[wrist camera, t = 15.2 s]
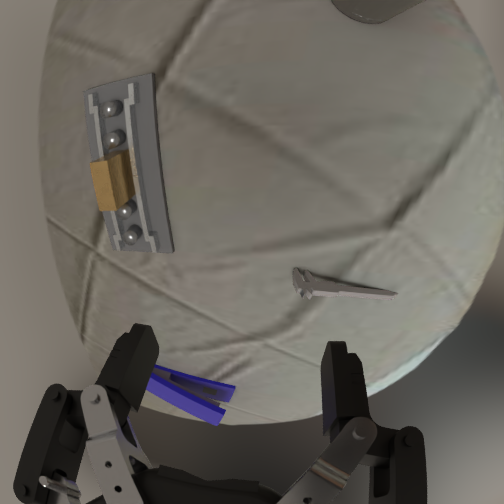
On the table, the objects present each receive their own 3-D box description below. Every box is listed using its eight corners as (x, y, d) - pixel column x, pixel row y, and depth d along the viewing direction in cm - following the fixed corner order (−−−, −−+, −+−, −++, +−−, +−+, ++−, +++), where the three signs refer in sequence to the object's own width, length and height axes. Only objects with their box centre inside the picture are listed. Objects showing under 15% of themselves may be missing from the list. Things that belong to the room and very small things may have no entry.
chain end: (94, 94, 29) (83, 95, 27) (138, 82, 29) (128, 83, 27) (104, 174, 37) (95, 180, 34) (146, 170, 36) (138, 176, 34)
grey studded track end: (104, 174, 37) (95, 180, 34) (146, 170, 36) (138, 176, 34) (121, 245, 44) (113, 253, 41) (160, 247, 43) (154, 256, 41)
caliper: (292, 271, 44) (293, 297, 39) (294, 265, 44) (295, 291, 38) (394, 296, 45) (404, 320, 40) (397, 291, 45) (407, 316, 39)
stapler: (229, 399, 73) (224, 428, 65) (139, 374, 71) (129, 400, 63) (236, 383, 66) (231, 415, 58) (135, 355, 65) (123, 384, 57)
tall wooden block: (120, 194, 38) (99, 211, 33) (112, 151, 34) (89, 163, 29) (136, 193, 38) (116, 210, 33) (129, 149, 34) (106, 160, 29)
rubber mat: (86, 90, 30) (83, 91, 29) (154, 73, 29) (151, 73, 28) (115, 247, 45) (112, 249, 44) (174, 250, 44) (172, 253, 43)
